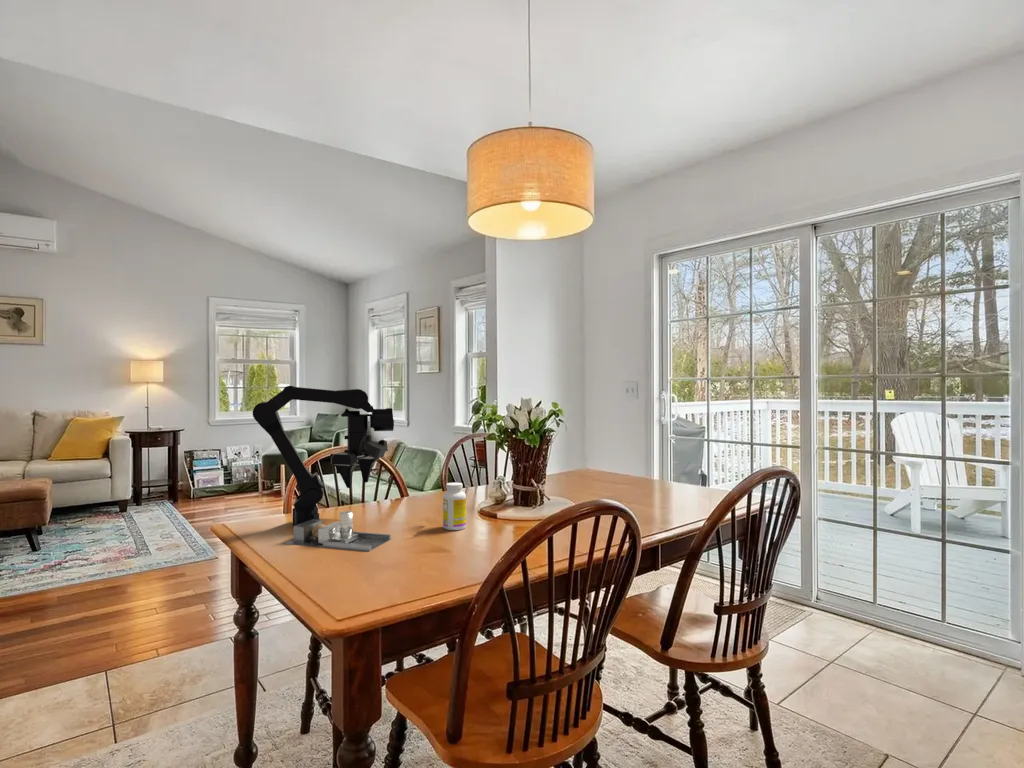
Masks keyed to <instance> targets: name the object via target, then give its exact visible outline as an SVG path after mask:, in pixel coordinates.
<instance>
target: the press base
mask: <svg viewBox="0 0 1024 768" xmlns="http://www.w3.org/2000/svg"><path fill="white" fill-rule="evenodd" d="M317 524H323V519H319V520H317V519H312V520H309V521H306V522H304V523H301V524H299V525H296V526H293V539H291V540H289V541H287V542H285V543H283V545H290V546H299V547H310V548H312V547H313V548H322V549H332V550H333V549H334V550H341V551H342V550H343V551H356V552H362V553H363V552H364V553H365V552H367V553H369V552H371V551H373V550H374V549H376V548H378V547H380V546H382V545H383V544H386V543H387V542H389V541H391V540H392V534H389V533H388V534H387V533H379V532H378V533H377V532H366V531H354V530H353V534H358V538H357V539H355V540H353V541H351V542H349V543H341V542H330V541H324V542H323V544H321V543H318V540H317V539H315V538H314V537H313V535H312V529H313V528H314V526H316V525H317Z"/></svg>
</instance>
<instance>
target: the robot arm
mask: <svg viewBox="0 0 1024 768" xmlns="http://www.w3.org/2000/svg"><path fill="white" fill-rule="evenodd" d="M293 400H295V401H305V402H319V403H327V404H329V403H330V404H336V405H340V406H343V407H347V408H345V410H344V411H343V412H342V413H341V414H340V416H341V417H342V418H344V417H345V418H347V421H346V423H347V424H346V425H347V430H346V431H347V435H344V440H347V442H346V443H347V445H346V447H347V449H344V451H343V452H338V453H334V454H333V455H332V456H330V464H331V465H333V467H334V468H336V469H337V471H338V473H339V475H340V476H341V479H342V481H343V483H344V485H345V486H346V488H347V489H351V488H352V483H353V476H354V474H353V473H354V469H355V468H356V467H357V466H358V465H359V470H360V473H361V478H362V480H363V483H365V484H366V483H368V482H369V479H370V475H371V472H372V469H373V466H374V464H376V463H377V462H378V461H379V460H380V458H384V456H385V453H387V452H388V450H389V449H388V441H387V440H385V439H380V440H378V441H374V440H372V435H371V434H369V433H368V431H369V429H373V432H393V431H394V429H395V419H394V414H393V408H391V407H387V408H374V406H373V405H371V403H370V402H369V396H368V393H367V392H366V391H364V390H363V389H359V388H351V389H350V388H349V389H339V390H331V389H321V388H320V389H319V388H312V387H311V388H310V387H299V386H294V385H287V386H285V387H284V388H283V389H282V390H281V391H280V392H278V393H277V394H275V395H274V396H273V397H271V398H270V399H269V400H268V401H262V402H259V403H258V404H256V405H255V406H254V408H253V410H252V417H253V419H254V420H255V421H256V423H258V425H259V426H260V427H261V428H262V429H263V430H264V431H265V432H266V433H267V435H269V436H270V437H271V439H272V441H273V442H274V445H275V446H276V448H277V449H278V451H279V453H280V454H281V456H282V458H283V460H285V462H286V464H287V466H288V467H289V469H290V471H291V473H292V474H293V476H294V478H295V481H296V483H297V487H298V491H299V495H298V496H297V497H296V498H295V500H294V504H293V507H294V508H292V526H293V527H294V526H296V525H299V524H301V523H304V522H306V521H309V520H312V519H317V520H320V513H319V507H316V505H317V504H319V503H320V502H321V501H322V499H323V496H324V482H323V481H322V480H321V479H320V477H319V474H318V472H314V473H311V471H310V470H309V469H308V468H307V466H306V465H305V463H304V461H303V460H302V458H301V456H300V454H299V453H298V450H297V449H296V448H295V446H294V443H292V441H291V439H290V437H289V436H288V434H287V433H286V431H285V429H284V427H283V424H282V420H281V417H280V414H279V410H281V409H282V408H283V407H285V406H286V405H287V404H288V403H290V402H291V401H293ZM348 408H351V409H355V410H349V409H348ZM360 410H363V411H364V412H366V413H361V411H360ZM368 417H369V418H368ZM368 419H369V420H368ZM368 421H369V423H368ZM368 424H369V425H368ZM368 427H369V429H368ZM357 461H358V464H357Z"/></svg>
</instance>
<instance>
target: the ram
mask: <svg viewBox="0 0 1024 768" xmlns="http://www.w3.org/2000/svg"><path fill="white" fill-rule="evenodd" d="M353 531H354V511H352V510H344V511H340V512H339V521H334V522H332V523H330V524H327V525H325V526H324V527H322V528H319V529H318V543H321V544H323V542H324V541H330V542H341V543H349V542H351V541H353V540H355V539H357V538H358V534H353Z"/></svg>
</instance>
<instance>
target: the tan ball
mask: <svg viewBox="0 0 1024 768" xmlns="http://www.w3.org/2000/svg"><path fill="white" fill-rule="evenodd" d="M324 526H326V524H324V523H322V524H317V525H316V526H314V528H313V529H312V535H313V537H314V538H315V539H317V540H318V529H319V528H322V527H324Z"/></svg>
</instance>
